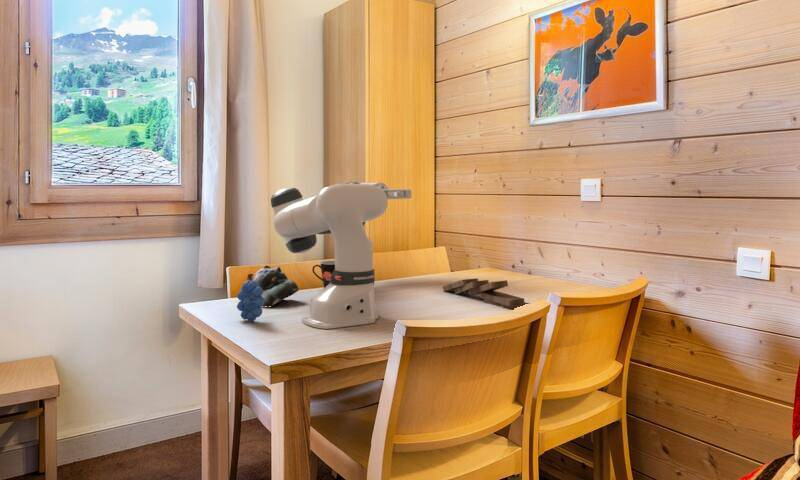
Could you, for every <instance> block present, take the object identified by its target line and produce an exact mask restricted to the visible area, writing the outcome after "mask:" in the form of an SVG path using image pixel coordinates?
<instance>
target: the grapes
mask: <svg viewBox="0 0 800 480" xmlns="http://www.w3.org/2000/svg"><path fill="white" fill-rule="evenodd" d="M245 282H246V281H245ZM245 282H244V283H243V284H242V285H241V288H240V290H239V291H238V293H237V295H236V297H237V299H238V300H239V302H238V303H237V304H236V308H237V310H238V311H240V317H241V319H243V320H247V321H248V322H249V323H253V322H255V321H256V319H257V318H259V317H261V316H262V315H263V314H262V313H263V307H262V306H263V305H264V303H265V300H264V298H263V297H262V296H261V295H262V293H263V289H262V288H261V287H259V286H258V285H257V283H256V282H255V281H250V282H249V283H248V282H246V283H245Z"/></svg>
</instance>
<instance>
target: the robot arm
mask: <svg viewBox="0 0 800 480" xmlns="http://www.w3.org/2000/svg"><path fill="white" fill-rule="evenodd" d="M411 198H412V190H411V188H389V187H388V185H387V184H385V182H384V183H383V182H358V181H354V182H347V183H335V184H332V185H328V186H326V187H324V188H322V189H321V190H320V191H319V192H318V194H317V195H313V196H310V197H308V198H305V199H303V195H302V193H301V191H300V190H299V189H297V188H296V187H283V188H281V189H279V190H277V191H276V192H275V193H273V194H272V195H271V198H270V203H271V204H270V205H271V206H270V207H271V208H272V209H273V215H274V217H273V218H274V219H273V227H274V230H275V232H276V233H277V234H278V235H279V236H280V237H281V238H282V240H283V241H284V242H285V243H284V245H285V246H286V248H287V249H288V251H289V252H290V253H292V254H304V253H307V252H310V250H312V249H313V248H314V247H315V246H316V245H317V242H318V240H317V239H318V238H317V235H329V234H331V237H332V240H333V241H332V242H333V247H334V260H335V269H334V271H333V273H332V274H331V273H330V272H324V275H323V277H325V279H330V278H331V279H330V284H328V285H327V286H326V287H325V288H324V287H323V289H321V291H320V292H318V293H317V294H316V295H315V296H314V297H313V298H312V300H311V303H310V306H309V307H310V308H309V313H308V315H307V314H306V315H304V316H303V315H302V317H301V322H302V323H303V324H305V325H307V326H309V327H313V328H317V329H325V330H327V329H337V328H338V329H339V328H342V327H343V328H346V327H353V326H359V325H360V326H361V325H368V324H370V325H371V324H374V323H376V320H377V319H379V317H380V315H379V311H378V308H377V303H376V295H375V290H374V289H375V288H374V287H375V283H376V282H375V280H376V279H375V269H374V245H373V241H372V240H371V239H370V238H369V237H368V236H367V233H366V232H365V228H364V226H365V224H366V222H369V221H373V220H376V219H377V218H379V217H382V216H383V215H384V214H385V212H386V211H387V208H388V200H396V199H397V200H402V199H403V200H404V199H408V200H409V199H411Z"/></svg>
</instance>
